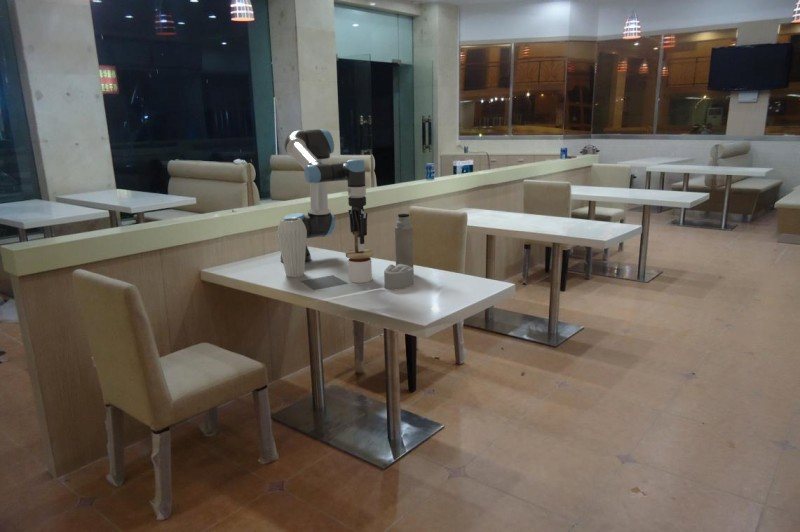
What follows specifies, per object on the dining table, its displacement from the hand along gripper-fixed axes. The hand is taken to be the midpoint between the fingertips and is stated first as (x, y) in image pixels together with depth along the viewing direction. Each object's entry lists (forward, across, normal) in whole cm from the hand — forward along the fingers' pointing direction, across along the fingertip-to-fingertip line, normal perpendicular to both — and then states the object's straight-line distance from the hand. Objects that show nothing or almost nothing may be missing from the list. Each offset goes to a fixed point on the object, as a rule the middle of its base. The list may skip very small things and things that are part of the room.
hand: (359, 249), depth 245 cm
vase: (+14, -25, -21) cm, 36 cm away
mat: (+14, -6, -15) cm, 21 cm away
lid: (+2, 0, 0) cm, 2 cm away
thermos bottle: (+14, +3, +21) cm, 26 cm away
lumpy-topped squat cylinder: (+14, +15, +10) cm, 23 cm away
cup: (+14, 0, 0) cm, 14 cm away
